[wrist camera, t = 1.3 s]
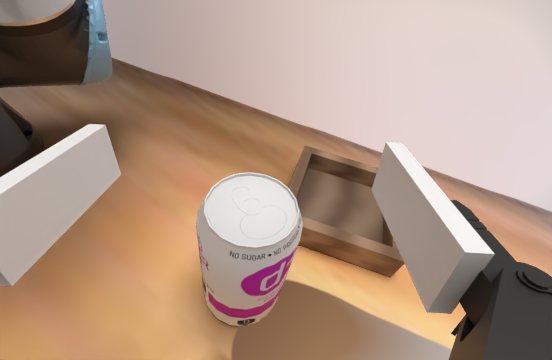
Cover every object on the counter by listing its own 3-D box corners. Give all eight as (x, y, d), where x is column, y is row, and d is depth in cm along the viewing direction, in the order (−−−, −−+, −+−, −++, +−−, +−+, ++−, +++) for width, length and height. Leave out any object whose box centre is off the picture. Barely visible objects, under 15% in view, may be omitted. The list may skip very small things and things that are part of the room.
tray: (271, 235, 36) (276, 217, 33) (299, 163, 47) (304, 145, 44) (390, 277, 34) (405, 262, 31) (390, 191, 45) (401, 175, 42)
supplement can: (291, 298, 30) (329, 220, 20) (227, 346, 26) (231, 280, 16) (252, 244, 34) (266, 156, 24) (191, 278, 30) (175, 190, 20)
